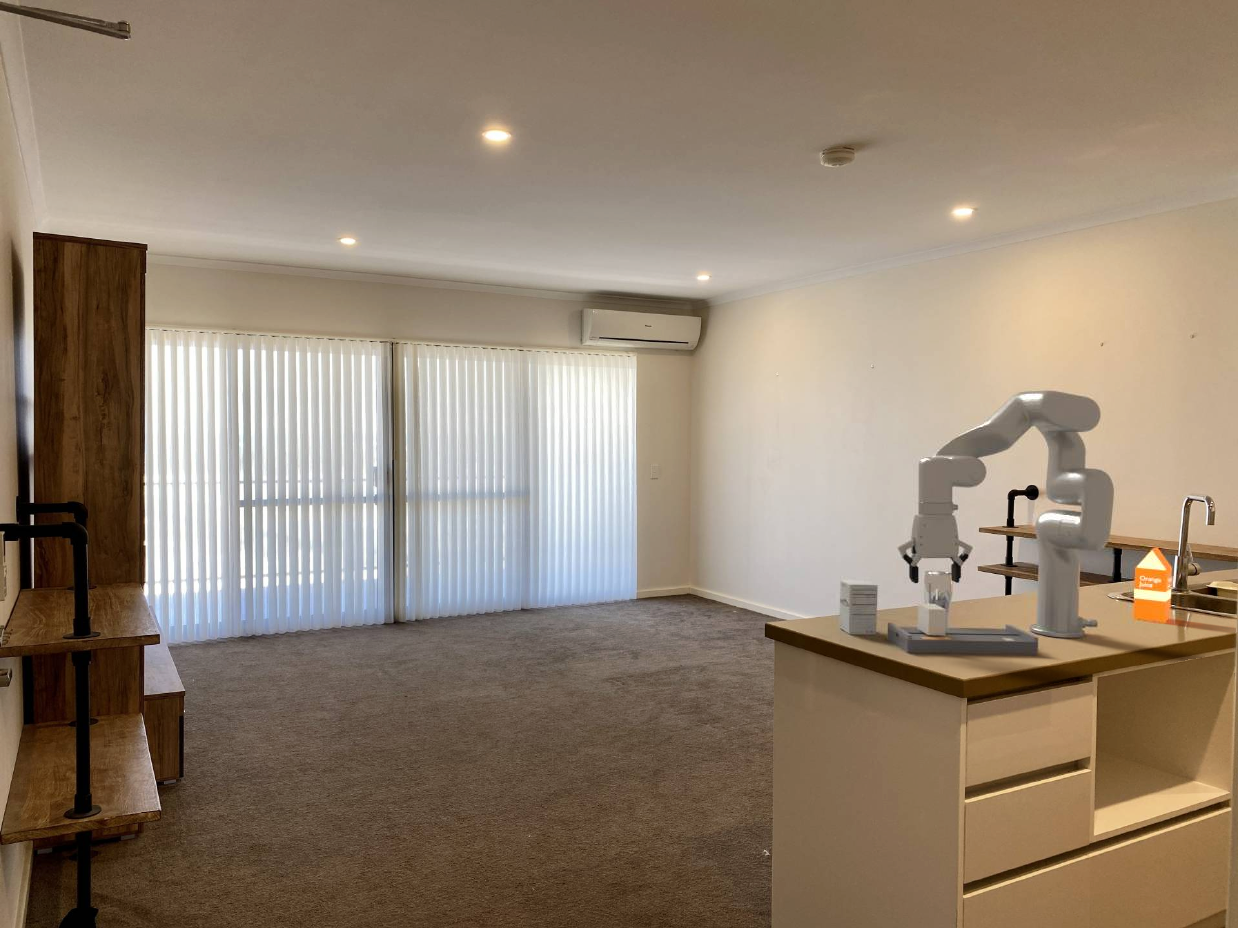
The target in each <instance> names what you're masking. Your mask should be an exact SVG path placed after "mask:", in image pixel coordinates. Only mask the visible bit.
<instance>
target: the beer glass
mask: <svg viewBox="0 0 1238 928" xmlns="http://www.w3.org/2000/svg"><path fill="white" fill-rule="evenodd" d="M953 583H954V581H952V580H951V572H949V571H943V570H942V571H940V570H926V571H924V579H923V599H924V604H936V605H938V606H940V607H942V608H944V609H946V628H950V625H949V615H950V614H949V613H950V609H951V605H952V600H953V589H954V587H953V586H954V585H953Z"/></svg>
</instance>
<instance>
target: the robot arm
mask: <svg viewBox="0 0 1238 928" xmlns="http://www.w3.org/2000/svg"><path fill="white" fill-rule="evenodd" d="M1101 413H1102V412H1101V409H1100V406H1099V404H1098V403H1097V402H1096V401H1095V400H1094V399H1092V398H1090V397H1087V396H1082V395H1077V394H1072V393H1067V392H1062V391H1059V390H1058V391H1056V390H1034V391H1033V390H1032V391H1021V392H1018V393H1015V394H1014V395H1012V396H1011V397H1010V398H1008V399H1007V400H1006V402H1004V403H1003V404H1002V405H1001V406H1000V407H999V408H998V409H997V410H996V411H995V412H994V413H993V414H992V415H990V417H989V418H987V419H986V420H985V421H984V422H983V423H982V424H980V425H978V426H975V427H973V428H972V429H969V430H967V431H965V432H964V433H961V434H960V435H958V436H956V437H954V438H952V439H950V440H949V441H948V442H946V443H945V444H944V445H943V446H941V447H940V448H939V449H938V450H937V451H936V452H935V453H934V454H933V455H932V456H930V457H923V458H921V459H920V460H919V461H918V493H917V494H918V497H917V498H918V514H914V517H913V522H912V528H911V536H910V537H911V538H910V540H909V541H907V542H905V543H903V544H901V545H899V546H898V547H897V550H898V552H899V554H900V555H901V558H902V559H903V560H904V561H905V562H906V564H907V565H908V568H909V569H908V577H909V579H910V581H911V583H914V584H919V580H920V579H919V571H920V570H919V569H920V568H919V566H918V563H919V562H920V561H921V560H922V559H950V560H951V561H952V564H951V566H950V569H951V570H950V571H951V572H950V573H951V580H952V581H953V583H956V584H957V583H958V584H959V583H960V579H961V577H962V566H963V565H964V563H965V562H966V561H967V560H968V559H969V556H970V555H971V552H972V551H973V546H972V545H970V544H968V543H966V542H964V541H962V540H960V539H959V532H958V524H957V519H956V515H954V512H955V511H959V510H958V509H959V505H958V504H954V502H953V487H956V488H964V489H965V488H968V489H969V488H974V487H977V486H979V485H981V484H982V483H983V482H984V480H985V479H986V475H987V466H986V465H985V464H984V462H983V461H982V460H981V459H980V458H984V457H988V456H993V455H996V454H999V453H1000V454H1001V453H1003V452H1004V451H1007V450H1009V449H1011V448H1012V447H1013V445H1014V444H1015V443H1017V442H1018V440H1019V439H1021V438H1022V437H1023V436H1024V434H1026V432H1028V431H1029V430H1030V429H1031V428H1033V427H1035V428H1036V429H1037V430H1038V431H1039V432H1040V433H1041V435H1042V437H1043V438H1044V440H1045V442H1046V444H1047V448H1048V450H1047V451H1048V457H1047V469H1046V480H1045V481H1046V482H1045V494H1046V497H1047V499H1048V500H1049V501H1051V502H1052V503H1055V504H1059V505H1066V506H1078V507H1080V508H1081V510H1080V511H1078V510H1077V511H1076V510H1068V509H1048V510H1046V511H1044V512H1042V513H1041V514H1040V515H1039V516H1038V517H1037V519H1036V521H1035V527H1034V528H1035V537H1036V541H1037V548H1038V570H1037V571H1038V573H1037V574H1038V575H1037V600H1036V601H1037V602H1036V623H1033V624H1032V623H1031V624H1030V625H1029V630H1030V631H1031V632H1032V633H1035V634H1037V635H1038V634H1039V635H1043V636H1047V637H1055V638H1063V639H1064V638H1065V639H1066V638H1067V639H1071V638H1072V639H1075V638H1083V637H1084V636H1085V635H1086V633H1085V630H1084V629H1086V628H1087V627H1088V628H1097V627H1098V624H1099V623H1098V621H1097V619H1087V618H1083V617H1082V616H1079V609H1080V581H1081V579H1080V578H1081V563H1080V560H1079V557H1078V556H1077V553H1076V551H1075V550H1078V551H1086V552H1097V551H1101V550H1102V549H1104V548H1105V546H1107V544H1108V542H1109V539H1110V536H1111V529H1112V521H1113V520H1112V518H1113V508H1114V501H1115V500H1114V498H1115V496H1114V495H1115V488H1114V484H1113V480H1112V478H1111V476H1110V475H1109V474H1108V473H1107V472H1106V471H1104V470H1101V469H1098V468H1087V467H1086V453H1087V451H1086V445H1085V443H1084V440H1083V439H1082V437H1081V435H1080V434H1079V433H1085V432H1089V431H1092V430H1094V429H1095V428H1096V427H1097V426H1098V424H1099V423H1100V420H1101ZM960 548H962V549H963V551H962V553H961V554H960V553H959V552H960ZM909 549H910V553H911V554H912V555H911V556H909V554H908V552H907V551H908V550H909ZM959 554H960V555H959Z"/></svg>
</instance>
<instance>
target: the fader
mask: <svg viewBox="0 0 1238 928" xmlns="http://www.w3.org/2000/svg"><path fill="white" fill-rule="evenodd" d="M916 627H917V629H919V630H921V631H922V632H924V633H926V634H927V635H945V631H946V609H944V608H942V607H940V606H938V605H936V604H925V603H918V604H917V626H916Z"/></svg>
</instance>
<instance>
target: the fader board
mask: <svg viewBox="0 0 1238 928" xmlns="http://www.w3.org/2000/svg"><path fill="white" fill-rule="evenodd" d="M886 635H887V640H888V641H889V642H891V643H893V644H894V645H895V646H897V648H899V649H901V650H902V651H904V652H906V653H907V654H946V653H948V654H949V655H950V654H951V653H955V654H954V655H956V654H958V655H959V654H960V653H961V654H962V655H1007V654H1010V656H1011V654H1012V656H1013V655H1015V656H1016V655H1018V656H1022V655H1025V656H1027V655H1028V656H1038V653H1039V637H1038V636H1035V635H1033V634H1031V633H1029V632H1027V631H1025V630H1023V629H1021V628H1018V627H1016V626H1013V625H1011V624H1005V628H994V627H993V628H990V627H989V628H985V627H984V628H983V627H981V628H980V627H949V628H946V631H945V635H927V634H926V633H924V632H922V631H921V630H919V629H917V626H898V625H896V624H895V623H893V622H887V634H886ZM961 654H960V655H961Z"/></svg>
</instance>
